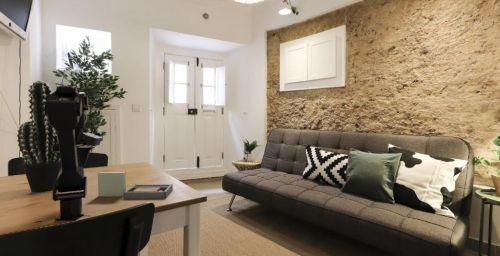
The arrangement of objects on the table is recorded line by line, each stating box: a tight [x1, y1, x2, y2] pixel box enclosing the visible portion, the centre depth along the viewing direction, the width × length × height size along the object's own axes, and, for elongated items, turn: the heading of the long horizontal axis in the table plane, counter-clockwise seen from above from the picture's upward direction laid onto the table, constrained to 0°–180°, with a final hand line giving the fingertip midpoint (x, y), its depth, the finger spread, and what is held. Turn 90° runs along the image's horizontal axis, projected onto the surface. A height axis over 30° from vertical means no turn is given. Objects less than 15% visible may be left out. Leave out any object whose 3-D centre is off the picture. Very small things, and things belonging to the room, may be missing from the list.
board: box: [97, 171, 127, 197], centre depth 106 cm, size 2×10×10 cm, turn 94°
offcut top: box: [133, 188, 160, 192], centre depth 107 cm, size 5×9×1 cm, turn 94°
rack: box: [123, 183, 174, 200], centre depth 109 cm, size 12×16×3 cm
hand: (76, 167), depth 99 cm, fingers open, 9 cm apart
